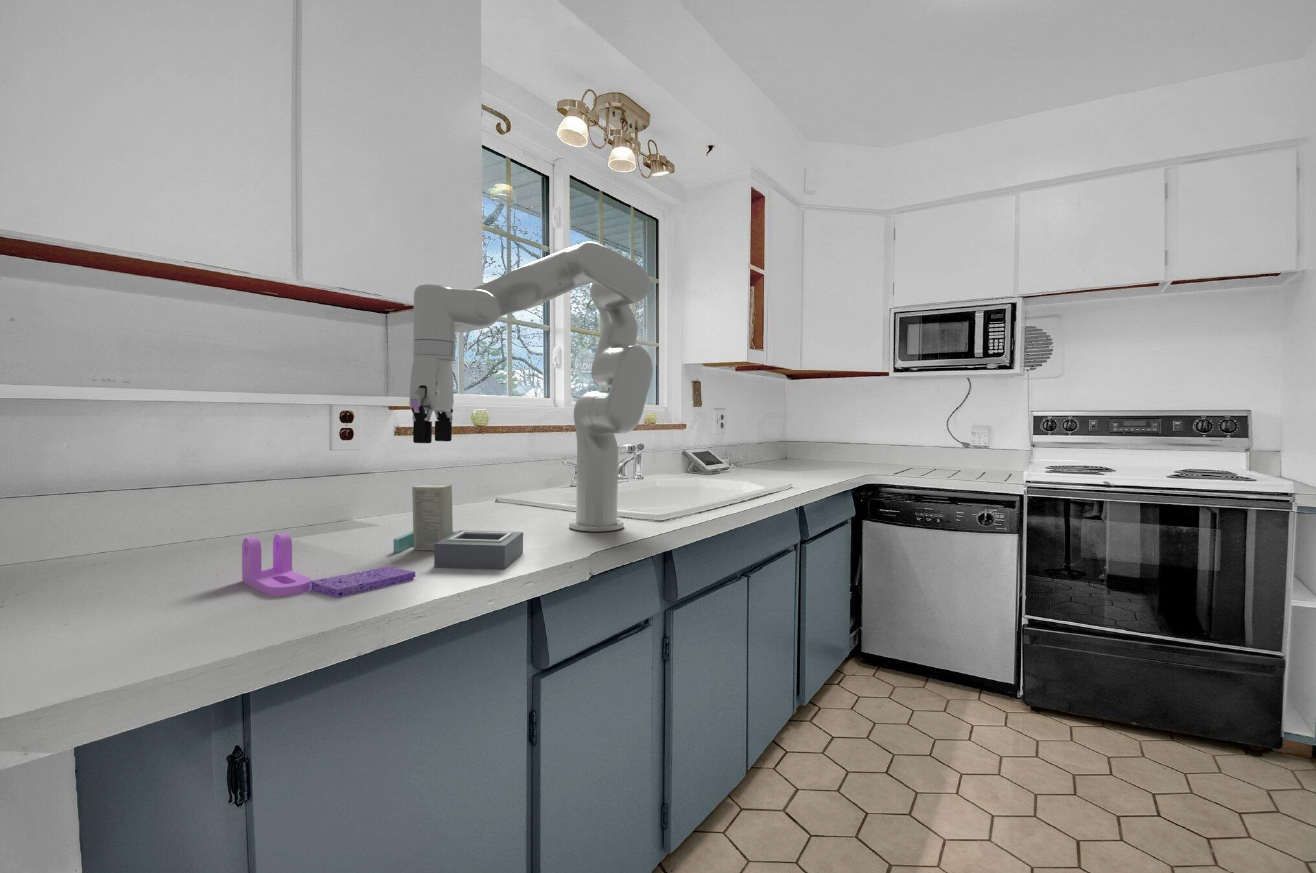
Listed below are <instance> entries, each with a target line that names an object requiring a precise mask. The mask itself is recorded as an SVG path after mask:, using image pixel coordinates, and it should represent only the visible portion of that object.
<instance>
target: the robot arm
mask: <svg viewBox="0 0 1316 873" xmlns="http://www.w3.org/2000/svg"><path fill="white" fill-rule="evenodd" d="M585 285H589V294H590V299H591V300H592V302H593V303H594V305H595V306H596V309H597V310H598V312H599V314H600V317H601V330H600V336H599V339H598V343H597V346H596V350H595V353H594V357H593V361H592V365H591V371H590V373H591V378H592V380H593V382H595V384H597V385H598V386H600V387H603V388H610V390H595V391H594V390H593V391H588V392H586V393H584V394H582V395H581V396H580V397H579V398H578V399H577V400H576V402H575V405H574V409H573V422H574V427H575V429H574V430H575V434H576V454H577V455H576V458H577V459H576V500H575V502H576V503H575V504H576V505H575V506H576V507H575V508H576V509H575V510H576V511H575V519H572V520H570V521H569V522H568V526H569V528H570V529H572V530H575V531H580V532H591V533H592V532H593V533H594V532H596V533H597V532H601V533H603V532H612V531H618V530H622V529H623V528H624V527H625V526H624V521H623V520H620V519H618V487H619V486H618V484H619V482H618V481H619V480H618V477H619V475H618V474H619V472H618V471H619V447H618V443H617V438H616V435H615V434H626V433H630V432H631V431H633V430H634V429H635V428H636V427H637V426H638V425H639V423H640V421H641V418H642V416H643V413H644V409H645V404H646V402H647V397H648V394H649V391H650V390H649V389H650V386H651V382H652V377H653V362H652V358H651V356H650V354H649V353H648V351H647V350H646V349H645V348H643V347H642V346H640V345H636V342H637V338H638V333H639V332H638V322H637V319H636V317H635V314H634V313H633V310H632V308H631V306H630V305H633V304H636V303H640V302H642V301H643V300H644V299H645V298H646V297H647V296H648V294H649V293H650V289H651V279H650V276H649V274H648V272H647V270H645V268H643V267H642V266H641V265H640V264H638V263H637V262H635V261H633V260H632V259H629V258H627V257H626V256H624V255H622V254H620V253H618V252H617V251H615V250H613V249H611V248H609V247H607V246H605V245H603V244H601V243H598V242H594V241H585V242H582V243H579V244H575V245H573V246H571V247H567V248H564V249H563V250H559V251H558V252H555V253H552V254H550V255H547V256H545V257H543V258H542V257H541V258H540V259H538V260H535V261H532V262H530V263H528V264H525V265H523V266H520V267H517V268H516V269H513V270H510V271H509V272H507V273H505V274H503V275H502V276H500V277H497V278H495V279H493V280H491V281H488V282H486V283H484V284H481V285H479V286H476V287H474V288H469V289H468V288H465V289H464V288H451V287H448V286H445V285H440V284H429V283H428V284H426V283H425V284H421V285H418V286H416V288H415V289H414V293H413V326H412V327H413V336H412V337H413V338H412V340H413V342H412V343H413V344H412V351H413V352H412V359H413V361H412V366H411V373H410V374H411V375H410V383H409V401H408V402H409V408H410V409H411V412H412V421H413V423H412V424H413V427H412V428H413V430H412V431H413V432H412V434H413V435H412V436H413V437H412V441H413V443H414V444H431V443H432V441H433V440H432V438H433V436H432V435H433V421H430V420H431V417H432V414H433V413H434V415H435V417H436V420H435V421H434V441H435V442H451V441H452V440H453V439H452V438H453V437H452V434H453V432H452V431H453V430H452V428H453V412H454V409H453V406H454V404H455V403H454V373H453V372H454V371H453V362H456V339H457V338H456V335H457V334H456V332H457V333H470V332H473V331H478V330H479V331H480V330H484V329H486V328H490V327H492V326H493V325H494V324H495V323H496V322H497V321H498V320H499V318H501V317H504V316H507V315H509V314H512V313H516V312H521V311H524V310H525V311H526V310H530V309H531V308H535V307H538V306H540V305H543V304H545V303H547V302H550V300H554V299H556V298H557V297H559V296H560V297H561V296H562V295H564V294H567V293H569V292H571V291H573V290H575V289H577V288H579V287H582V286H585Z"/></svg>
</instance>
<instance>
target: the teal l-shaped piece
mask: <svg viewBox="0 0 1316 873" xmlns="http://www.w3.org/2000/svg"><path fill="white" fill-rule="evenodd" d="M458 531H459V530H458ZM458 531H457V530H454V531H453V534H454V533H456V532H458ZM412 547H414V543H413V530H412V531H409V532H407V533H405V534H402V535H401V536H398V537H396V538H393V553H394V554H399V553H401V552H404V551H406V550H409V549H411V548H412Z"/></svg>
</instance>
